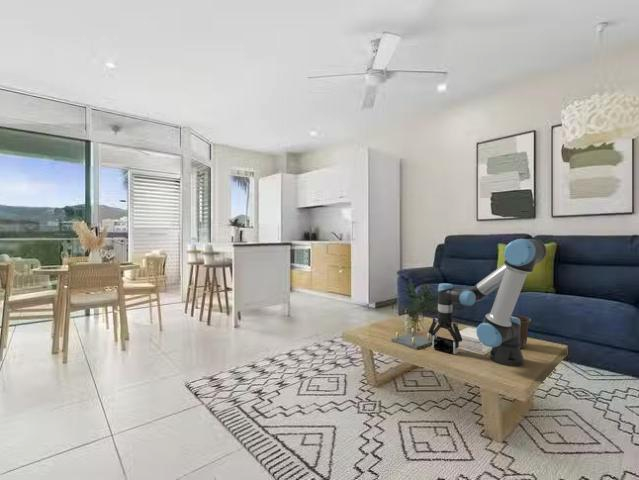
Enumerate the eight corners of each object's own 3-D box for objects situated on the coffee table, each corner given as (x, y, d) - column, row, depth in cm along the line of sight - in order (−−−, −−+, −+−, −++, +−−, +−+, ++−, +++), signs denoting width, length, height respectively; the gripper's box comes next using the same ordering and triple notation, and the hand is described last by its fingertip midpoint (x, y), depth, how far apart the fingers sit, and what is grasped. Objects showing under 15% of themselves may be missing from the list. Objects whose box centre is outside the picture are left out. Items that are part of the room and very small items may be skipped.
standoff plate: (435, 343, 196) (435, 334, 196) (416, 349, 185) (416, 339, 185) (410, 335, 211) (410, 326, 210) (391, 341, 200) (391, 332, 200)
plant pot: (523, 352, 182) (524, 323, 181) (493, 344, 194) (493, 317, 194) (534, 346, 192) (535, 318, 191) (504, 338, 204) (505, 312, 204)
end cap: (456, 351, 183) (456, 339, 183) (450, 354, 178) (450, 342, 178) (439, 346, 191) (439, 335, 190) (433, 349, 186) (433, 337, 185)
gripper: (469, 315, 176) (469, 355, 177) (430, 306, 196) (429, 342, 197) (462, 317, 172) (461, 358, 172) (422, 308, 191) (421, 345, 192)
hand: (444, 350), depth 185 cm, fingers open, 12 cm apart
